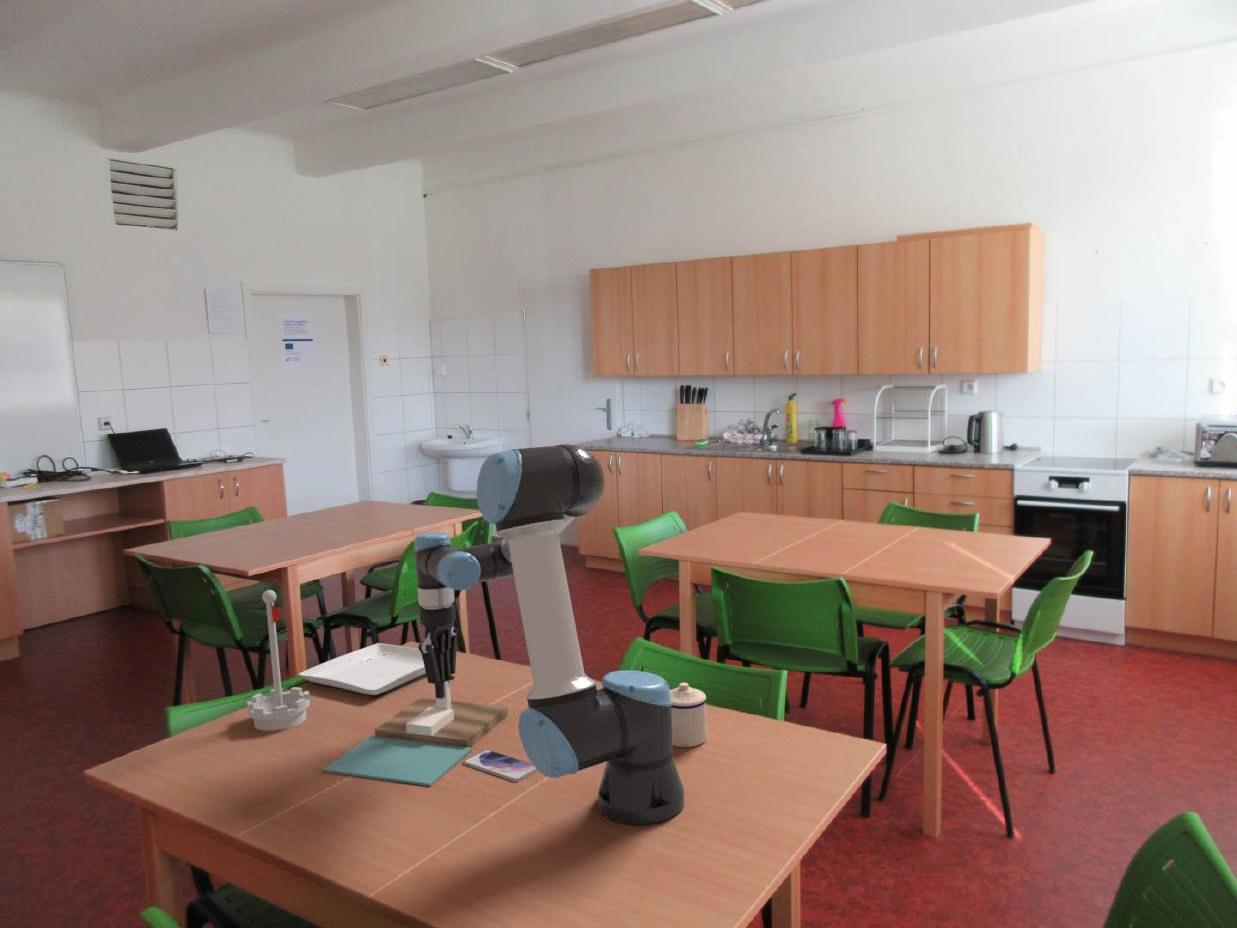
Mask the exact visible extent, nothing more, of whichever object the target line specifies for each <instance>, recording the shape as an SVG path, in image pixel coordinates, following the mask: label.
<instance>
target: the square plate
mask: <svg viewBox="0 0 1237 928" xmlns="http://www.w3.org/2000/svg"><path fill="white" fill-rule="evenodd" d="M384 654H386V655H384ZM383 655H384V656H383ZM350 659H351V660H350ZM369 659H371V660H369ZM367 661H368V662H367ZM361 662H362V663H361ZM424 675H426V671H425V667H424V662H423V658H422V654H421V652H420V650H419V648H414V647H409V646H403V645H402V646H401V645H396V644H390V643H389V644H388V643H382V642H377V643H375V644H372V645H369V646H366V647H363V648H361V649H358V650H355V651H352V652H349V653H346V654H343V655H340V656H338V657H335V658H333V659H330V660H326V661H325V662H323V663H319V664H318V665H315V666H312V667H310V668H308V669H306V670H303V671H302V672H299V673H298V676H301V677H302V678H303V679H304V680H307V681H309V682H311V683H316V684H319V685H325V686H329V687H333V688H339V689H343V690H346V691H347V690H348V691H352V692H355V693H360V694H365V695H369V696H370V695H371V696H377V695H379V694H384V693H386V692H389V691H392V690H394V689H395V688H397V687H400V686H403V685H404V684H406V683H408V682H411V681H412V680H416V679H417V678H420V677H422V676H424Z"/></svg>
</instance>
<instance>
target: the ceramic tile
mask: <svg viewBox="0 0 1237 928" xmlns="http://www.w3.org/2000/svg"><path fill="white" fill-rule="evenodd" d="M453 719H454V711H453V710H449V709H440V708H431V707H429V708H428V709H426V710H425V711H423V712H422V713H420V714H419V715H418V716H416V717H415V718H413V719H412V720H411V721H409V722H408V723H406V731H407V733H411V734H419V735H428V736H432V735H434V734H435V733H436V732H438V731H439V730H440V729H442V728H443V727H444V726H445V725H447V724H448V723H449V722H451V721H452V720H453Z"/></svg>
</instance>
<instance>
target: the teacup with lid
mask: <svg viewBox="0 0 1237 928" xmlns="http://www.w3.org/2000/svg"><path fill="white" fill-rule="evenodd" d="M670 696H671V702H672V706H671V722H672V747H678V748H692V747H698V746H700V745H702V744H703V743H705V742H706V741H707V738H708V732H707V731H708V730H707V729H708V728H707V701H708V697H707V696H706V694H705V693H704V691H702V690H700V689H697V688H693V687H691V686H689V683H687V682H680V683H679V685H678V686H677V687H676V688H673V689H670Z"/></svg>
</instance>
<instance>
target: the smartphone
mask: <svg viewBox="0 0 1237 928" xmlns="http://www.w3.org/2000/svg"><path fill="white" fill-rule="evenodd" d="M462 765H464V766H466V767H470V768H472V769H476V770H478V771H481V772H484V773H487V774H491V775H493V776H497V777H499V778H501V779H504V780H507V781H511V782H513V783H519V782H521V781H523V780H525V779H527V778H529V777H530V776H532V775H533V774H534V773H537V772H539V771H538V770H537V769H536V768H535V767H534V765H533V764H532V763H531V762H527V761H525V760H520V759H519V758H515V757H511V756H510V755H509V756H508V755H505V754H502V753H499V752H496V751H493V750H489V749H485V750H483V751H481V752H478V753H476V754H474V755H472V756H470V757H468V758H465V759H464V760H463V761H462Z"/></svg>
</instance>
